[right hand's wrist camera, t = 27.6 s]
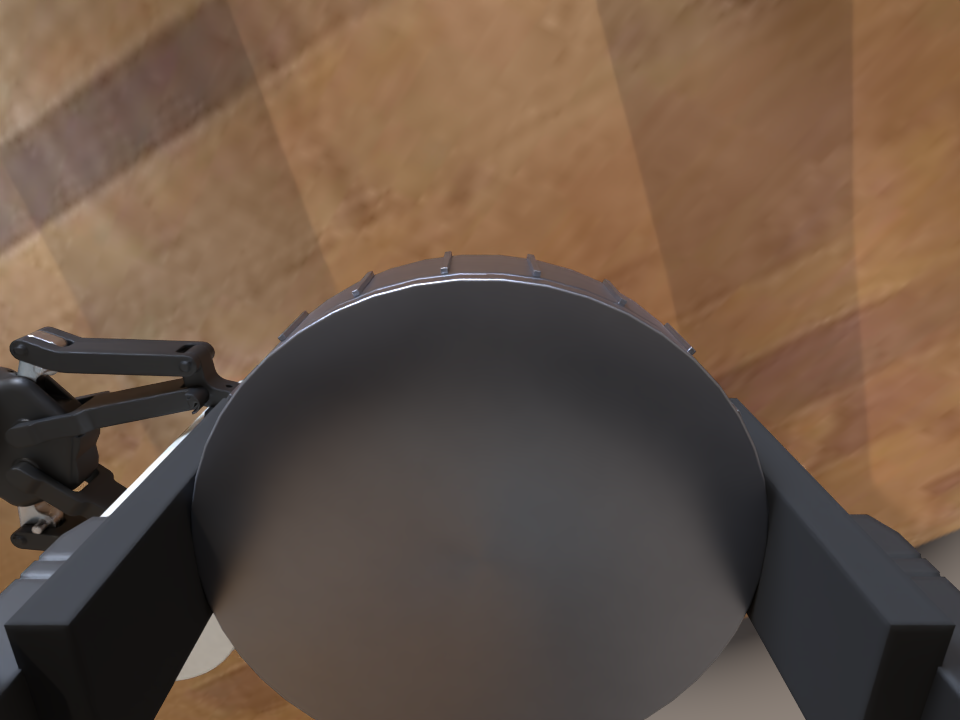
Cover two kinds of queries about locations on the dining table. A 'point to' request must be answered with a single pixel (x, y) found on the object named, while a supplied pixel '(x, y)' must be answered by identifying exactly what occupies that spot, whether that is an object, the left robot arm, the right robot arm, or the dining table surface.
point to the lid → (479, 502)
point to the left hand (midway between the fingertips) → (313, 500)
